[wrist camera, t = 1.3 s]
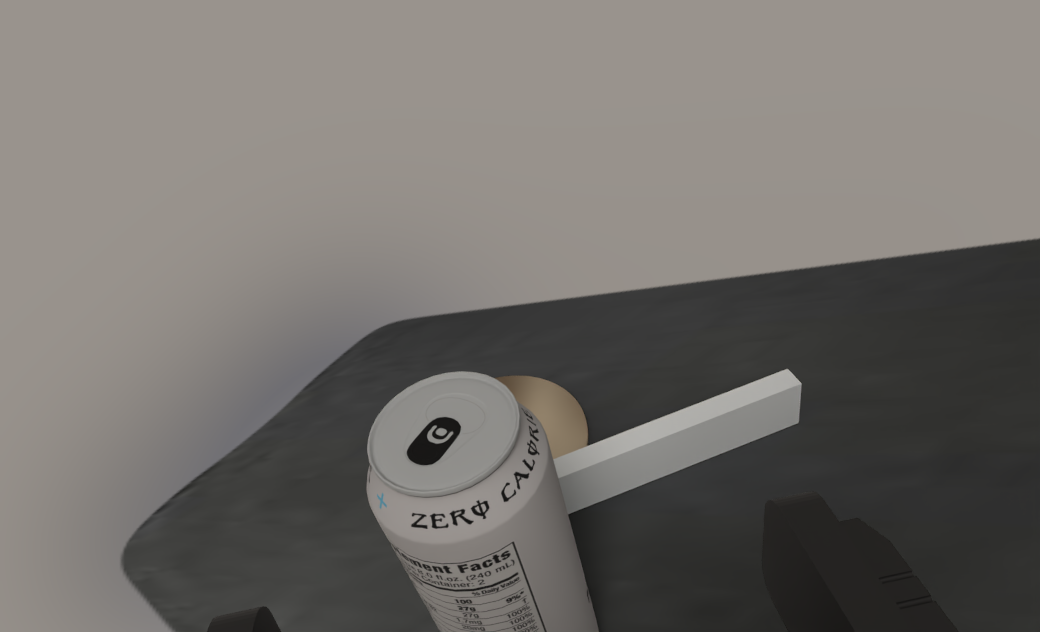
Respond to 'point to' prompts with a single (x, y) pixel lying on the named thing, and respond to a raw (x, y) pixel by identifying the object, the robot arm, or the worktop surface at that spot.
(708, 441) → the white rectangular bar
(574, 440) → the cork coaster
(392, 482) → the energy drink can
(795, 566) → the robot arm
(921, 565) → the worktop surface
